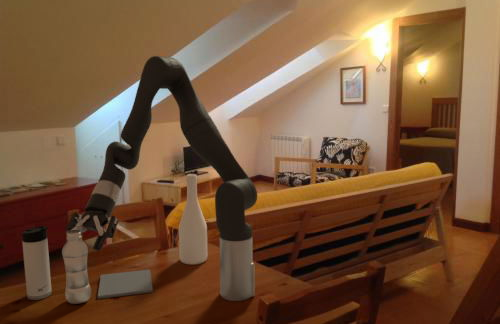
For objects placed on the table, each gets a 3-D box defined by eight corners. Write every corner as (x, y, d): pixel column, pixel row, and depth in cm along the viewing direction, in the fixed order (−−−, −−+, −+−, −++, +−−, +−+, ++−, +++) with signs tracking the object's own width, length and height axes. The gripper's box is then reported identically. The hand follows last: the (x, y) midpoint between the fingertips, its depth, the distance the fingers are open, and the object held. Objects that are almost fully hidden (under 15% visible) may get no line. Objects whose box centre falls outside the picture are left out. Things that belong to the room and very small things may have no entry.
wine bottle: (190, 267, 141) (187, 178, 136) (174, 259, 148) (171, 174, 143) (212, 260, 147) (211, 174, 143) (196, 253, 154) (195, 171, 150)
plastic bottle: (80, 308, 114) (75, 236, 111) (60, 304, 116) (54, 233, 113) (96, 298, 120) (92, 229, 117) (77, 294, 122) (72, 227, 119)
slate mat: (150, 271, 138) (149, 269, 138) (152, 292, 124) (152, 289, 124) (100, 277, 134) (100, 274, 134) (97, 298, 120) (97, 296, 120)
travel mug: (46, 300, 119) (40, 231, 116) (22, 300, 119) (16, 231, 116) (56, 290, 125) (51, 224, 122) (34, 290, 125) (28, 224, 122)
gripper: (76, 191, 127) (53, 240, 118) (119, 193, 124) (98, 245, 114) (88, 204, 133) (67, 252, 124) (130, 207, 130) (110, 256, 120)
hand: (82, 248), depth 119 cm, fingers open, 8 cm apart
